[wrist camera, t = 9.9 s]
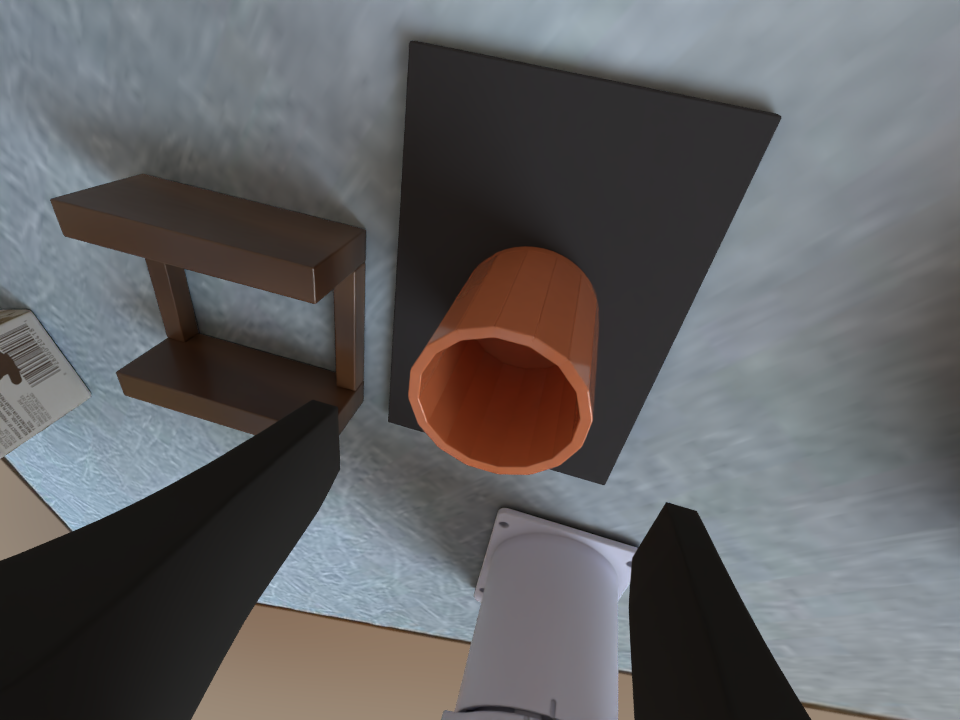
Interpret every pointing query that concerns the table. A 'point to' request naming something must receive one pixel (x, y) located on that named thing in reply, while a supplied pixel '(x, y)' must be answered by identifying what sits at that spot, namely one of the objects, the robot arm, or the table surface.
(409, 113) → the mat
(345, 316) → the stand
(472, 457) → the cup
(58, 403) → the coffee box
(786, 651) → the table surface
